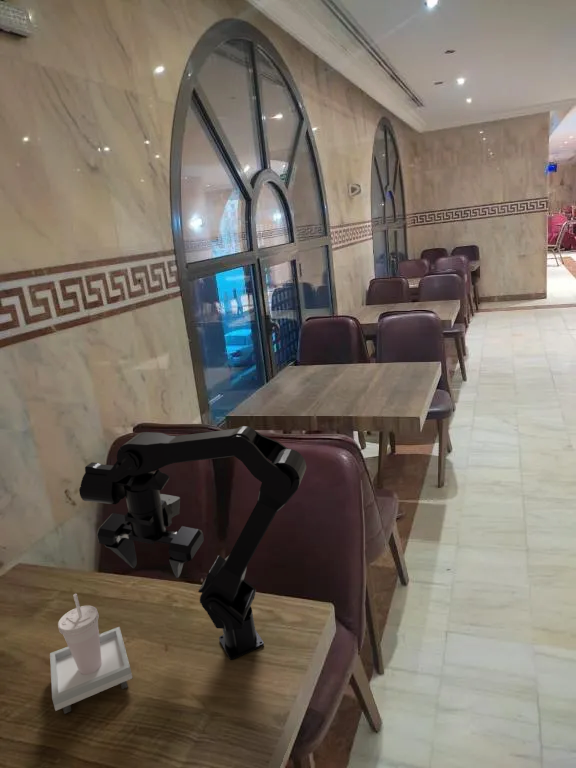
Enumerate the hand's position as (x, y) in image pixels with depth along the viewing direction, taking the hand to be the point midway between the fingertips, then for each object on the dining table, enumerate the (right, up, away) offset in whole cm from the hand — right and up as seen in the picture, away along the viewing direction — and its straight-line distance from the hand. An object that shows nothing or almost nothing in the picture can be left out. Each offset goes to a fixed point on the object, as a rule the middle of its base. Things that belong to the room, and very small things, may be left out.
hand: (156, 571), depth 101 cm
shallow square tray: (-9, -16, -8) cm, 20 cm away
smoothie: (-9, -13, -9) cm, 18 cm away
